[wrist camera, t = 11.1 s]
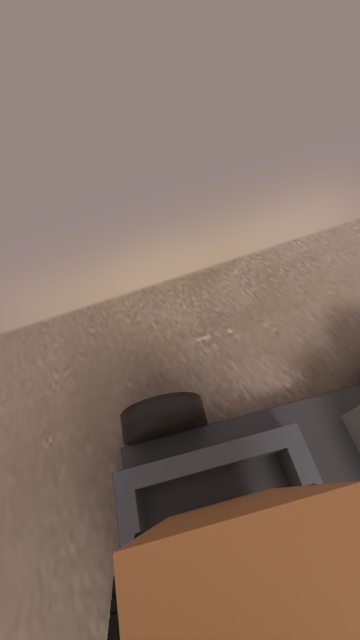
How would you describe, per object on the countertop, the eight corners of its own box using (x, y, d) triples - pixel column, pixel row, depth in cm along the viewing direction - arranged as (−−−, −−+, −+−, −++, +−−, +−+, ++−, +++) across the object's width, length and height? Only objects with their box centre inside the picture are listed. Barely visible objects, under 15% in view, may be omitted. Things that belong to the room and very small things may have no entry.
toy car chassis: (421, 349, 21) (482, 308, 16) (657, 666, 13) (914, 766, 8) (123, 428, 20) (97, 408, 15) (176, 832, 12) (156, 1060, 7)
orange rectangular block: (268, 488, 14) (367, 479, 6) (317, 629, 12) (633, 1008, 3) (168, 517, 14) (112, 552, 5) (196, 667, 11) (170, 1205, 3)
